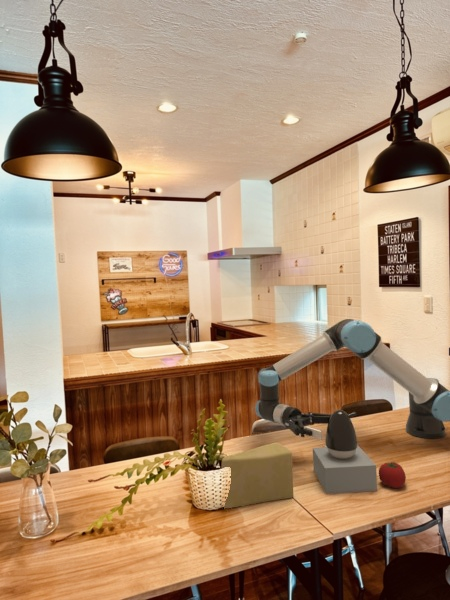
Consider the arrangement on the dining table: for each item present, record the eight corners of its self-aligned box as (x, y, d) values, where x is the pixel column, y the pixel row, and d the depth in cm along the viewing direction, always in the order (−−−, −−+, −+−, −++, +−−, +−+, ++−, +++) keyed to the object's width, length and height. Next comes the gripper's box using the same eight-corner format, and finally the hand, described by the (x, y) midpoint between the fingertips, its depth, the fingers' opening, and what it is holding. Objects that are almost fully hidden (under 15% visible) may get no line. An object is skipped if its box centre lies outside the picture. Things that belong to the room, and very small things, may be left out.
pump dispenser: (363, 461, 125) (361, 414, 124) (330, 463, 125) (328, 415, 125) (353, 449, 135) (351, 405, 134) (322, 450, 135) (320, 406, 135)
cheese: (228, 517, 112) (225, 465, 111) (216, 501, 121) (213, 453, 120) (295, 498, 120) (293, 450, 120) (279, 484, 129) (277, 439, 129)
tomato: (406, 492, 120) (405, 469, 120) (378, 488, 123) (377, 465, 123) (406, 481, 127) (405, 458, 127) (379, 477, 131) (378, 455, 130)
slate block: (358, 467, 138) (357, 445, 138) (377, 490, 122) (376, 465, 122) (313, 470, 138) (312, 447, 138) (326, 493, 122) (324, 468, 122)
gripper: (310, 418, 156) (357, 431, 139) (264, 434, 141) (310, 452, 124) (309, 399, 156) (356, 410, 139) (263, 413, 141) (309, 428, 124)
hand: (334, 430), depth 131 cm, fingers open, 13 cm apart
